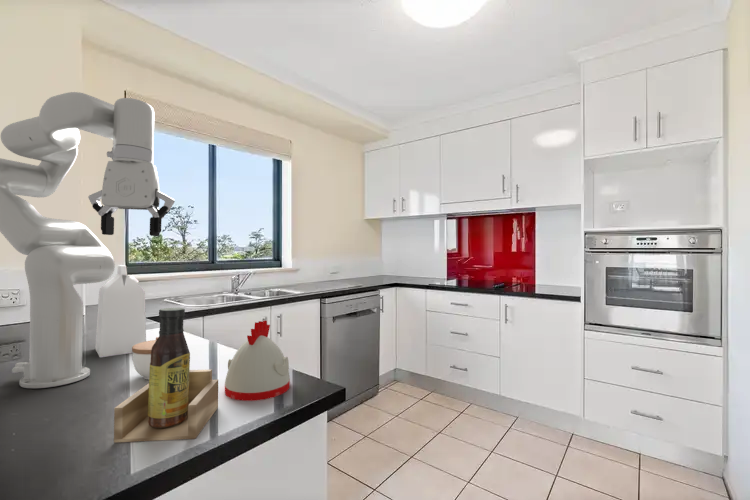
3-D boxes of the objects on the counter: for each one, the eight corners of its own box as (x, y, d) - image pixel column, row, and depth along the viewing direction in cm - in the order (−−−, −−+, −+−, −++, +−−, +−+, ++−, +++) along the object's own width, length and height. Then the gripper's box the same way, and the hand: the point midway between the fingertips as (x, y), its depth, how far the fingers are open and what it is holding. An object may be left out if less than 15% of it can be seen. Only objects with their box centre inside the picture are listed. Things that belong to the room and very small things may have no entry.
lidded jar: (190, 369, 96) (191, 333, 96) (166, 383, 85) (167, 343, 86) (149, 368, 96) (150, 332, 96) (120, 382, 86) (121, 342, 86)
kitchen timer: (299, 381, 88) (300, 318, 88) (270, 403, 75) (271, 329, 75) (247, 376, 91) (248, 315, 92) (210, 397, 78) (211, 326, 78)
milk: (95, 349, 115) (96, 265, 115) (138, 343, 122) (139, 264, 123) (99, 357, 106) (101, 266, 106) (146, 350, 114) (147, 265, 114)
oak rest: (113, 442, 59) (114, 395, 59) (150, 410, 71) (151, 371, 71) (195, 438, 61) (196, 392, 61) (217, 407, 73) (218, 369, 73)
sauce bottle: (170, 432, 62) (172, 312, 62) (138, 428, 63) (140, 311, 63) (196, 415, 68) (198, 307, 68) (167, 412, 69) (168, 305, 69)
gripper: (79, 151, 77) (77, 233, 77) (167, 155, 79) (165, 235, 79) (101, 160, 85) (99, 234, 85) (181, 163, 87) (179, 237, 86)
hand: (131, 235), depth 82 cm, fingers open, 9 cm apart
